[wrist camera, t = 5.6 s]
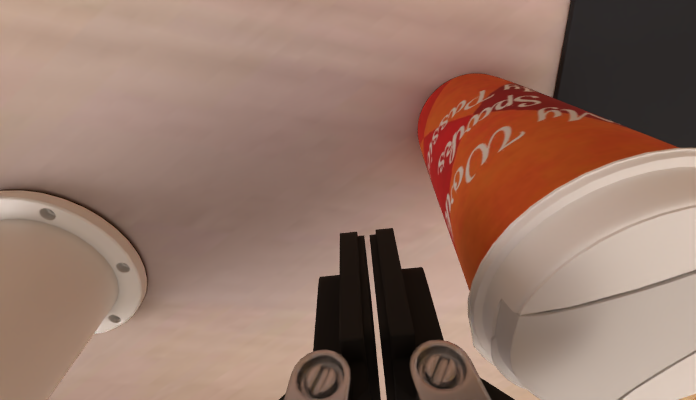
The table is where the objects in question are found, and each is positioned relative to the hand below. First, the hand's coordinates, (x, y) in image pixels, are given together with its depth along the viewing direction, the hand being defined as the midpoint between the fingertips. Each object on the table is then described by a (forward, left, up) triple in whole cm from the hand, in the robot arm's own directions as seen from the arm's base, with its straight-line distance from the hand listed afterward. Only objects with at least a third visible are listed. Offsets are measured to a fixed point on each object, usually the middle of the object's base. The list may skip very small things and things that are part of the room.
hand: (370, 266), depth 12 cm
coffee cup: (+7, 0, -12) cm, 14 cm away
